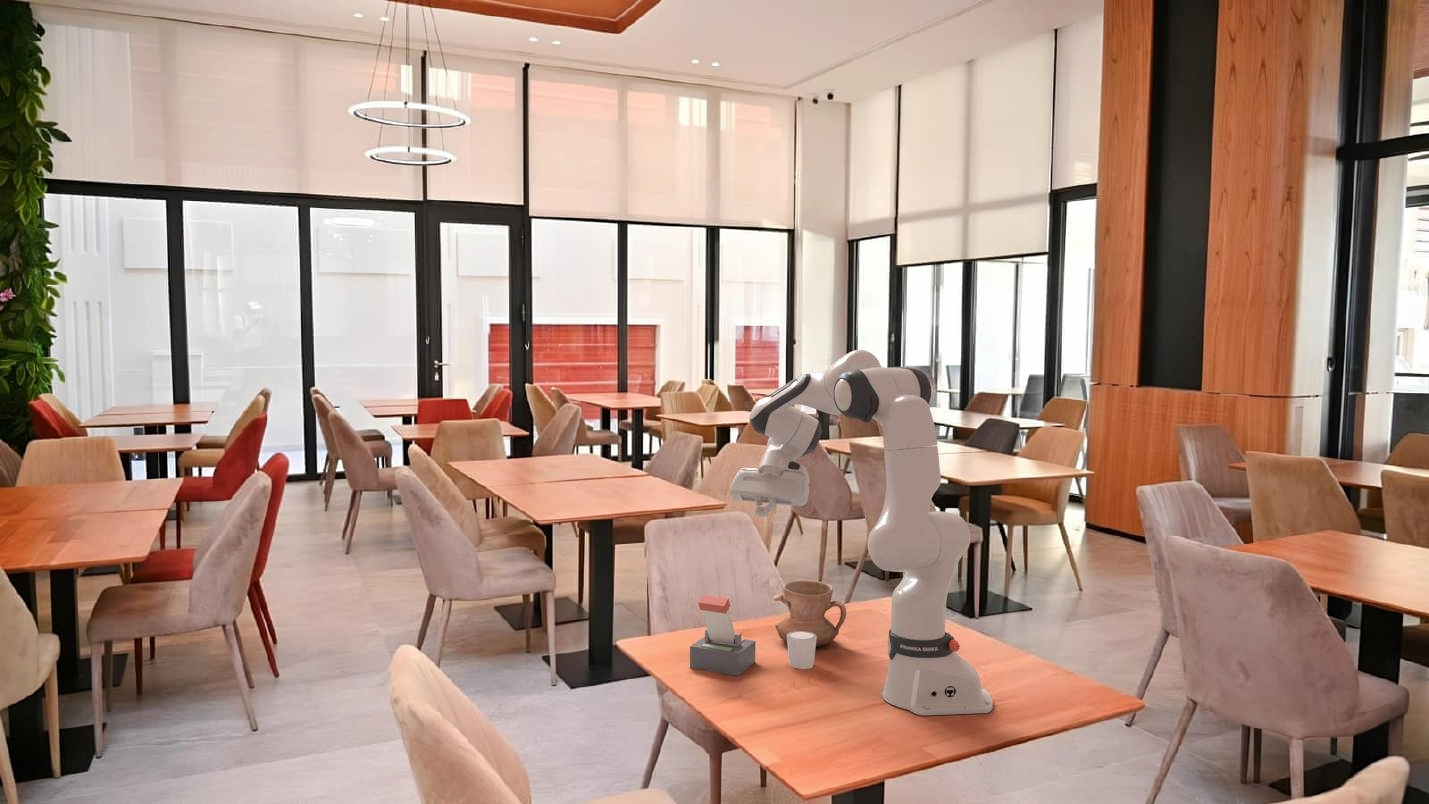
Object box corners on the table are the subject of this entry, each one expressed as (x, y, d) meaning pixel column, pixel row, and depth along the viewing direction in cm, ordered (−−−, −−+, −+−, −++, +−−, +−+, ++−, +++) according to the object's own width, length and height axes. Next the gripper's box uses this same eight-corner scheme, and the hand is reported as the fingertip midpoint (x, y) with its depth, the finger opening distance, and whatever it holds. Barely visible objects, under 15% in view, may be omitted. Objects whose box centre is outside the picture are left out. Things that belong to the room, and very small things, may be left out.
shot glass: (816, 660, 225) (816, 631, 224) (816, 670, 218) (816, 640, 217) (786, 659, 225) (787, 629, 225) (786, 669, 219) (786, 639, 218)
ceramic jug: (766, 648, 233) (767, 590, 232) (779, 629, 247) (780, 575, 246) (840, 657, 228) (842, 598, 227) (849, 637, 242) (851, 582, 241)
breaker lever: (713, 635, 223) (702, 594, 217) (738, 639, 221) (728, 598, 215) (708, 643, 221) (698, 602, 215) (734, 647, 219) (724, 606, 213)
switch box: (708, 654, 228) (708, 622, 228) (755, 662, 223) (755, 629, 223) (689, 667, 219) (690, 634, 219) (738, 675, 214) (738, 641, 214)
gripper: (735, 460, 248) (719, 504, 240) (810, 465, 239) (796, 511, 231) (741, 475, 252) (726, 518, 244) (816, 481, 244) (802, 526, 235)
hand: (761, 515), depth 237 cm, fingers closed
